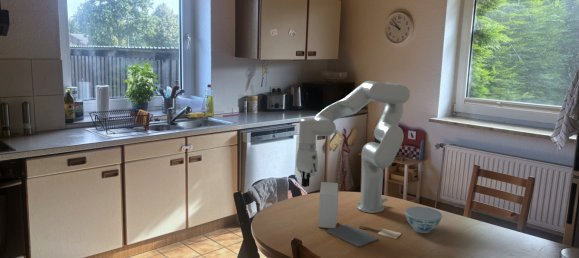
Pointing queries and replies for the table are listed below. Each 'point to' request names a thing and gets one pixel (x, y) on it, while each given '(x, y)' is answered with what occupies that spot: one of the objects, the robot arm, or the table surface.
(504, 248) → the table surface
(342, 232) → the mat
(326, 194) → the milk carton
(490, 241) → the table surface
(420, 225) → the chinaware
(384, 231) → the turner
